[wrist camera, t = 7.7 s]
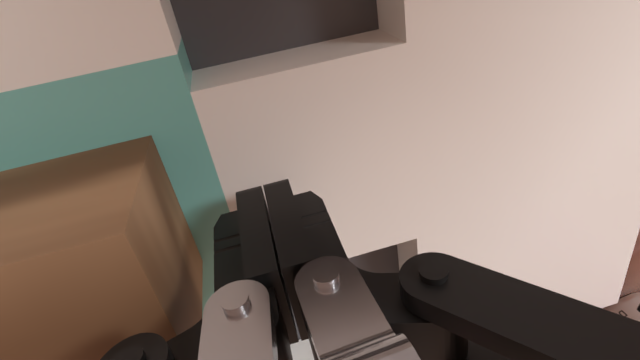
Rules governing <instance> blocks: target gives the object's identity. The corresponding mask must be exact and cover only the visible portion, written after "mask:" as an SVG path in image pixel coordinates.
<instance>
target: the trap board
mask: <svg viewBox="0 0 640 360" xmlns="http://www.w3.org/2000/svg"><path fill="white" fill-rule="evenodd" d="M150 135H152V138H153V140H154V143H155V145H156V148H157V150H158V153H159V155H160V157H161V160H162V162H163V165H164V167H165V170H166V172H167V175H168V177H169V179H170V182H171V184H172V187H173V189H174V192H175V194H176V197H177V199H178V202H179V204H180V206H181V209H182V211H183V214H184V216H185V219H186V221H187V224H188V226H189V228H190V231H191V233H192V236H193V238H194V241H195V243H196V246H197V248H198V251H199V253H200V255H201V258H202V260H203V283H202V318H203V311H204V307H205V305H206V302H207V301H208V299H209V298H210V297H211V296H212V294H214V226H215V224H216V222H217V221H218V219H219V217H220V215H221V214H225V213H228V212H232V211H236V210H237V204H236V192H238V191H242V190H246V189H250V188H254V187H258V186H261V187H262V190H263V193H264V197H265V192H264V188H263V185H265V184H269V183H273V182H277V181H281V180H284V179H288V180H289V183H290V186H291V189H292V192H293V195H296V194H300V193H304V192H308V191H312V192H313V193H315V194H316V195H318V196H319V197H321V198H322V199H323V202H324V204H325V206H326V209H327V212H328V213H329V216H330V218H331V221H332V223H333V225H334V227H335V230H336V232H337V234H338V237H339V239H340V241H341V244H342V246H343V248H344V251H345V253H346V255H347V257H348V259H349V260H350V261H351V262H352V263H353V264H354V265H355V266H356V267H358V268H360V269H362V270H365V271H368V272H373V273H399V271H400V269H401V267H402V265H403V264H404V263H405V262H406V261H407V260H408V259H410V258H411V257H413V256H415V255H418V254H421V253H427V252H438V253H444V254H447V255H451V256H453V257H456V258H459V259H462V260H465V261H468V262H471V263H473V264H476V265H479V266H482V267H485V268H488V269H491V270H493V271H496V272H499V273H502V274H505V275H508V276H511V277H513V278H516V279H519V280H522V281H525V282H528V283H531V284H533V285H536V286H539V287H542V288H545V289H548V290H551V291H553V292H556V293H559V294H562V295H565V296H568V297H571V298H573V299H576V300H579V301H582V302H585V303H588V304H591V305H594V306H596V307H599V308H604V307H607V306H610V305H613V304H616V303H618V300H619V297H620V294H621V290H622V287H623V283H624V280H625V276H626V273H627V270H628V266H629V263H630V259H631V256H632V252H633V249H634V246H635V242H636V239H637V235H638V232H639V229H640V0H0V172H1V171H5V170H9V169H13V168H17V167H21V166H26V165H30V164H34V163H38V162H42V161H46V160H50V159H55V158H59V157H63V156H67V155H71V154H75V153H79V152H83V151H88V150H92V149H96V148H100V147H104V146H108V145H112V144H117V143H121V142H125V141H129V140H133V139H137V138H141V137H146V136H150ZM265 200H266V197H265ZM266 204H267V202H266ZM267 207H268V206H267ZM291 307H292V306H291ZM292 312H293V310H292ZM293 316H294V313H293ZM294 321H295V326H296V330H297V335H298V339H299V342H297V343H294V344H290V347H291V352H292V357H293V360H314V356H313V353H312V349H311V345H310V342H309V339H306V340H303V341H301V337H300V334H299V330H298V327H297V323H296V320H295V316H294Z"/></svg>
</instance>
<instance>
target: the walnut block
mask: <svg viewBox="0 0 640 360" xmlns="http://www.w3.org/2000/svg"><path fill="white" fill-rule="evenodd" d="M202 283H203V260H202V258H201V255H200V253H199V251H198V248H197V246H196V243H195V241H194V238H193V236H192V233H191V231H190V228H189V226H188V224H187V221H186V219H185V216H184V214H183V211H182V209H181V206H180V204H179V202H178V199H177V197H176V194H175V192H174V189H173V187H172V184H171V182H170V179H169V177H168V175H167V172H166V170H165V167H164V165H163V162H162V160H161V157H160V155H159V153H158V150H157V148H156V145H155V143H154V140H153V138H152V135H150V136H146V137H141V138H137V139H133V140H129V141H125V142H121V143H117V144H112V145H108V146H104V147H100V148H96V149H92V150H88V151H83V152H79V153H75V154H71V155H67V156H63V157H59V158H55V159H50V160H46V161H42V162H38V163H34V164H30V165H26V166H21V167H17V168H13V169H9V170H5V171H1V172H0V360H100V359H101V358H102V357H103V356H104V355H105V354H106V353H107V352H108V351H109V350H110V349H111V348H112V347H113V346H115V345H116V344H117V343H119V342H120V341H122V340H124V339H126V338H128V337H130V336H133V335H135V334H139V333H146V332H148V333H155V334H158V335H160V336H162V337H163V338H164V339H165V341H166V342H167V341H168V340H170V339H172V338H174V337H175V336H177V335H179V334H181V333H183V332H184V331H186V330H188V329H189V328H191V327H192V326H194V325H195V324H196V323H198V322H199V321H200V320H201V319H202Z"/></svg>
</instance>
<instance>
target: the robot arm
mask: <svg viewBox="0 0 640 360" xmlns="http://www.w3.org/2000/svg"><path fill="white" fill-rule="evenodd" d="M263 188H264V192H265V197H266V200H265V197H264V193H263V190H262V187H261V186H258V187H254V188H250V189H246V190H242V191H238V192H236V204H237V210H236V211H232V212H228V213H225V214H221V215H220V217H219V219H218V221H217V222H216V224H215V226H214V294H212V296H211V297H210V298H209V299H208V301H207V302H206V305H205V307H204V311H203V318H202V319H201V320H200V321H199V322H198V323H196V324H195V325H194V326H192V327H191V328H189V329H188V330H186V331H184V332H183V333H181V334H179V335H177V336H175V337H174V338H172V339H170V340H168V341H167V342H166V341H165V339H164V338H163V337H162V336H160V335H158V334H155V333H148V332H146V333H139V334H135V335H133V336H130V337H128V338H126V339H124V340H122V341H120V342H119V343H117V344H116V345H115V346H113V347H112V348H111V349H110V350H109V351H108V352H107V353H106V354H105V355H104V356H103V357H102V358H101V359H100V360H293V357H292V352H291V347H290V344H294V343H297V342H299V339H298V335H297V330H296V326H295V321H294V316H295V320H296V323H297V327H298V330H299V334H300V337H301V341H303V340H306V339H309V342H310V345H311V349H312V353H313V356H314V360H640V322H639V321H636V320H634V319H631V318H628V317H625V316H622V315H619V314H616V313H614V312H611V311H608V310H605V309H602V308H599V307H596V306H594V305H591V304H588V303H585V302H582V301H579V300H576V299H573V298H571V297H568V296H565V295H562V294H559V293H556V292H553V291H551V290H548V289H545V288H542V287H539V286H536V285H533V284H531V283H528V282H525V281H522V280H519V279H516V278H513V277H511V276H508V275H505V274H502V273H499V272H496V271H493V270H491V269H488V268H485V267H482V266H479V265H476V264H473V263H471V262H468V261H465V260H462V259H459V258H456V257H453V256H451V255H447V254H444V253H438V252H427V253H421V254H418V255H415V256H413V257H411V258H410V259H408V260H407V261H406V262H405V263H404V264H403V265H402V267H401V269H400V271H399V273H373V272H368V271H365V270H362V269H360V268H358V267H356V266H355V265H354V264H353V263H352V262H351V261H350V260H349V259H348V257H347V255H346V253H345V251H344V248H343V246H342V244H341V241H340V239H339V237H338V234H337V232H336V230H335V227H334V225H333V223H332V221H331V218H330V216H329V213H328V212H327V209H326V206H325V204H324V202H323V199H322V198H321V197H319V196H318V195H316V194H315V193H313V192H312V191H308V192H304V193H300V194H296V195H293V192H292V189H291V186H290V183H289V180H288V179H284V180H281V181H277V182H273V183H269V184H265V185H263ZM266 202H267V204H266ZM267 206H268V207H267ZM291 306H292V307H291ZM292 310H293V312H292ZM293 313H294V316H293Z"/></svg>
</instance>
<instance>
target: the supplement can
mask: <svg viewBox="0 0 640 360" xmlns="http://www.w3.org/2000/svg"><path fill="white" fill-rule="evenodd" d="M603 309H605V310H608V311H611V312H614V313H616V314H619V315H622V316H625V317H628V318H631V319H634V320H636V321H639V322H640V292H637V293H632V294H629V295H627V296H625V297H622V298H620V299H619V300H618V303H616V304H613V305H610V306H607V307H604V308H603Z"/></svg>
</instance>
